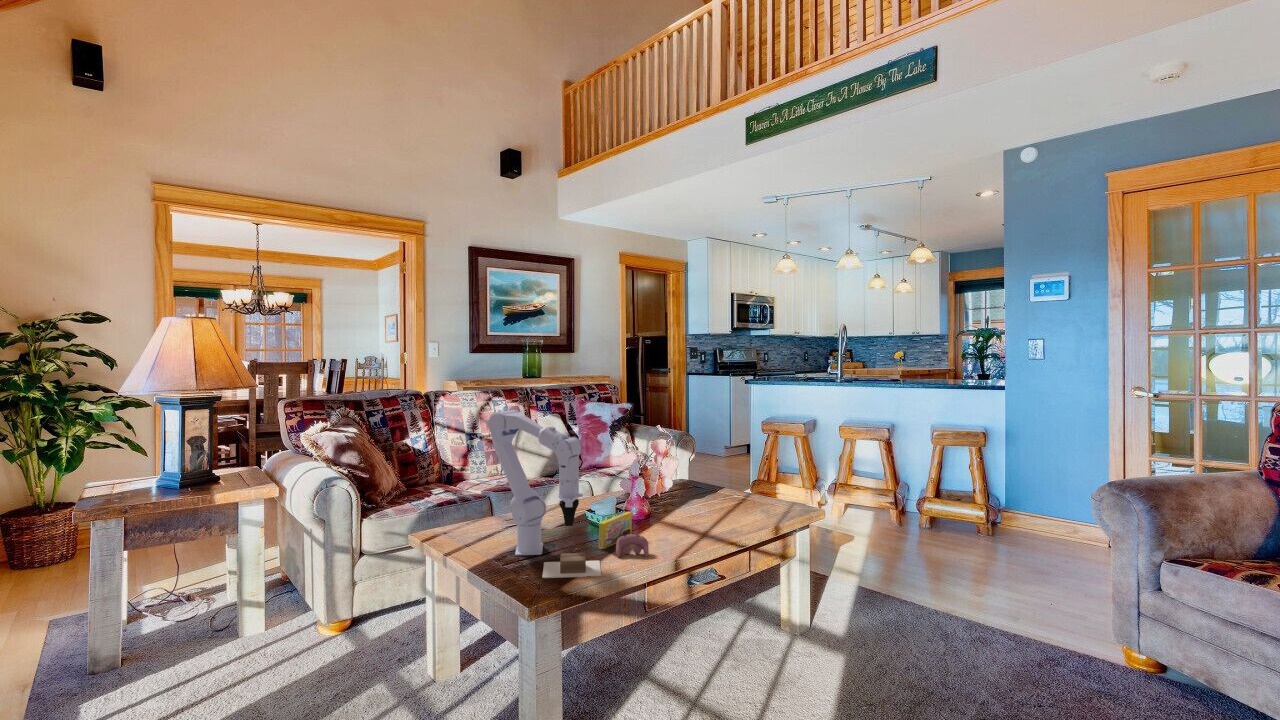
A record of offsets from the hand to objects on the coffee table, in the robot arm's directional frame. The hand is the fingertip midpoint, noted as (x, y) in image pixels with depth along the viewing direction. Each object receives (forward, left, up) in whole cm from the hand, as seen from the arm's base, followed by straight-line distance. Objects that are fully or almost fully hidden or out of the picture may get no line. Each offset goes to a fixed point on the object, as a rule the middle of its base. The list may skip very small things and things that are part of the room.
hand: (569, 525), depth 180 cm
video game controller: (-3, +19, -11) cm, 22 cm away
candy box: (-15, +15, -11) cm, 24 cm away
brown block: (+5, +1, -8) cm, 10 cm away
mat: (+7, +1, -10) cm, 13 cm away
